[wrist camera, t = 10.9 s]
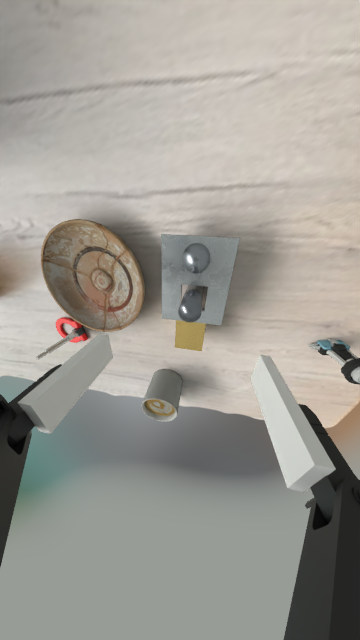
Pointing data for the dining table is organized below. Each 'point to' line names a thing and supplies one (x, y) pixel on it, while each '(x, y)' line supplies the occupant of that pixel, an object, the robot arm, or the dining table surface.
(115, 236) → the ceramic bowl
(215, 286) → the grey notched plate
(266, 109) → the dining table surface
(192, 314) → the pin
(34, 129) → the dining table surface
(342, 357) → the push button
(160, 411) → the coffee mug
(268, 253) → the dining table surface
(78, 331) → the tow hook
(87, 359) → the robot arm
